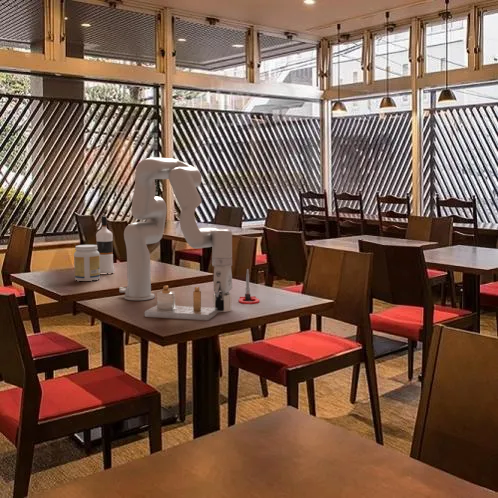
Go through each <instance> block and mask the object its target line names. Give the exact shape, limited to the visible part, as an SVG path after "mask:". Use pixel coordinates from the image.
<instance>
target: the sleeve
mask: <svg viewBox="0 0 498 498" xmlns="http://www.w3.org/2000/svg"><path fill="white" fill-rule="evenodd" d="M220 295H221V294H220ZM232 296H233V295H232V293H230V292H229V293H224V295H223V300H224V310H223V311H218V313H219V312H220V313H225V312H230V311H232V305H233V304H232ZM212 308H215V293H213V294H212Z"/></svg>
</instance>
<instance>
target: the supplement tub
mask: <svg viewBox="0 0 498 498" xmlns="http://www.w3.org/2000/svg"><path fill="white" fill-rule="evenodd" d="M97 249H98V248H97V244H78V245H75V251H74V253H73V260H74V261H73V262H74V263H73V265H74V266H73V267H74V280H75V281H76V280H77V281H76V282H79V281H91V280H97V279H99V280H100V278H101V275H100V256H99V255H100V254H99V252H98V251H97ZM97 281H98V280H97ZM91 282H92V281H91Z"/></svg>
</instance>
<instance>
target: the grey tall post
mask: <svg viewBox="0 0 498 498" xmlns="http://www.w3.org/2000/svg"><path fill="white" fill-rule="evenodd" d="M249 273H250V271H249V268H247V269H246V275H245V276H246V277H245V283H246V284H245V286H246V287H245V293H244V296H239V299H238V303H240V304H243V305H253V304H254V305H256V304H258V303H260V299H259V298H257V297H256V296H253V295H252V296H251V293H250V291H251V289H250V274H249Z"/></svg>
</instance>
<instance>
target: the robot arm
mask: <svg viewBox="0 0 498 498" xmlns="http://www.w3.org/2000/svg"><path fill="white" fill-rule="evenodd" d="M134 178H135V179H134V180H135V183H134V189H133V195H132V203H131V211H130V212H131V215H132V216H133V218H135V220H141V221H135V222H132V223H130V224H128V225H127V226H125V228H124V231H123V240H124V243H125V248H126V262H127V263H126V265H127V266H126V268H127V269H126V270H127V273H126V274H127V286H126V287H122V286H121V287H119V289H118V290H119V293H121V294H122V293H124V295H123V298H124V300H128V301H149V300H152V299H155V298H156V294H155V293H152V285H151V284H152V282H151V281H152V280H151V277H152V274H151V271H152V270H151V254H150V250H149V249H148V245H151V244H152V245H153V244H156V243H159V242H160V240H162V238H163V235H164V231H165V224H166V218H167V212H168V211H167V210H168V209H167V208H168V207H167V204H166V201H165V200H164V198H162V197H160V196H157V195H156V190H157V189H156V182H155V180H168V181H169V183H170V185H171V187H172V188H171V189H172V191H173V192H174V195H175V197H176V200H177V202H178V204H179V207H180V214H179V226H180V230H181V232H182V235H183V237H184V239H185V241H186V243H187V244H188V246H190V248H193V249H196V250H197V249H204V248H211V247H212V248H211V249H212V250H211V251H212V252H211V255H212V257H211V258H212V259H211V264H212V265H211V266H212V267H213V291H214V294H215V308H218V311H223V310H224V300H223V295H224V293H230V291H232V289H233V274H232V271H233V270H232V266H233V232H232V230H231V229H230V228H229V229H227V228H216V227H200V228H199V227H198V224H197V222H196V217H195V211H196V209H197V208H198V207H199V206H200V205H201V204H202V198H201V195H200V193H199V191H198V189H197V188H198V187H199V186H200V185H201V183H202V179H203V178H202V174H201V172H200V171H199V169H198V168H196V167H194V166H193V165H192V164H191V165H190V164H188V163H185V162H184V161H181V160H179V159H176V158H173V157H172V158H169V157H148V158H144V159H142V160H141V161H140V162H138V164H137V166H136V168H135V174H134ZM143 220H145V221H143ZM220 294H221V295H220Z"/></svg>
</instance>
